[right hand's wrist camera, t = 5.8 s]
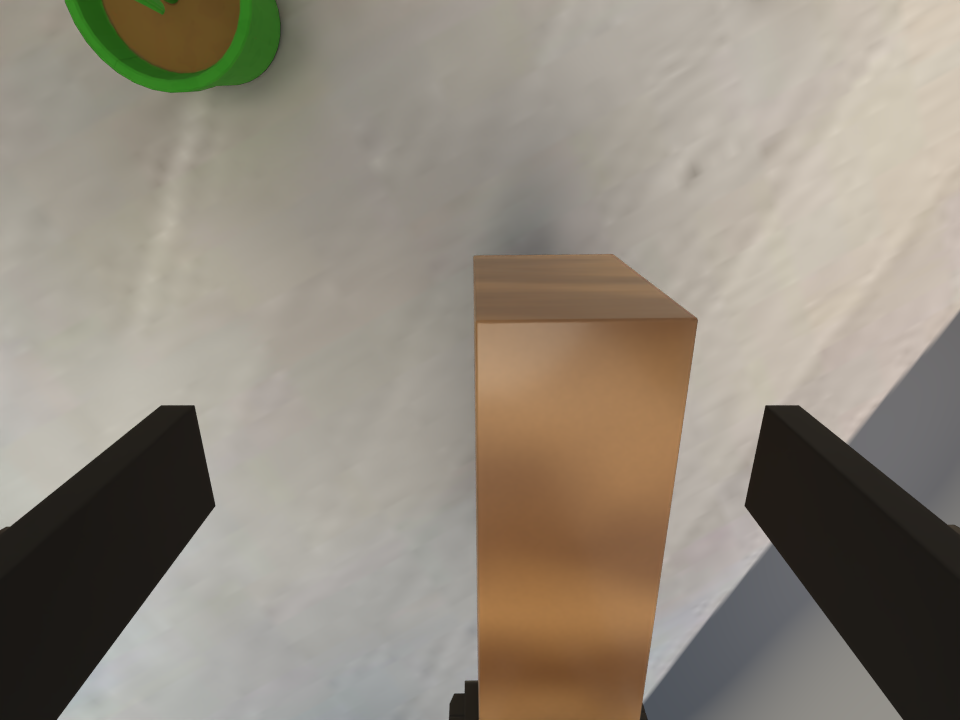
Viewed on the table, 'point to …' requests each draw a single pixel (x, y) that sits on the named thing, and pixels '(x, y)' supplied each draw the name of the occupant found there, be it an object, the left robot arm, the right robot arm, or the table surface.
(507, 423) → the box
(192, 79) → the potted flower
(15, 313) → the table surface
